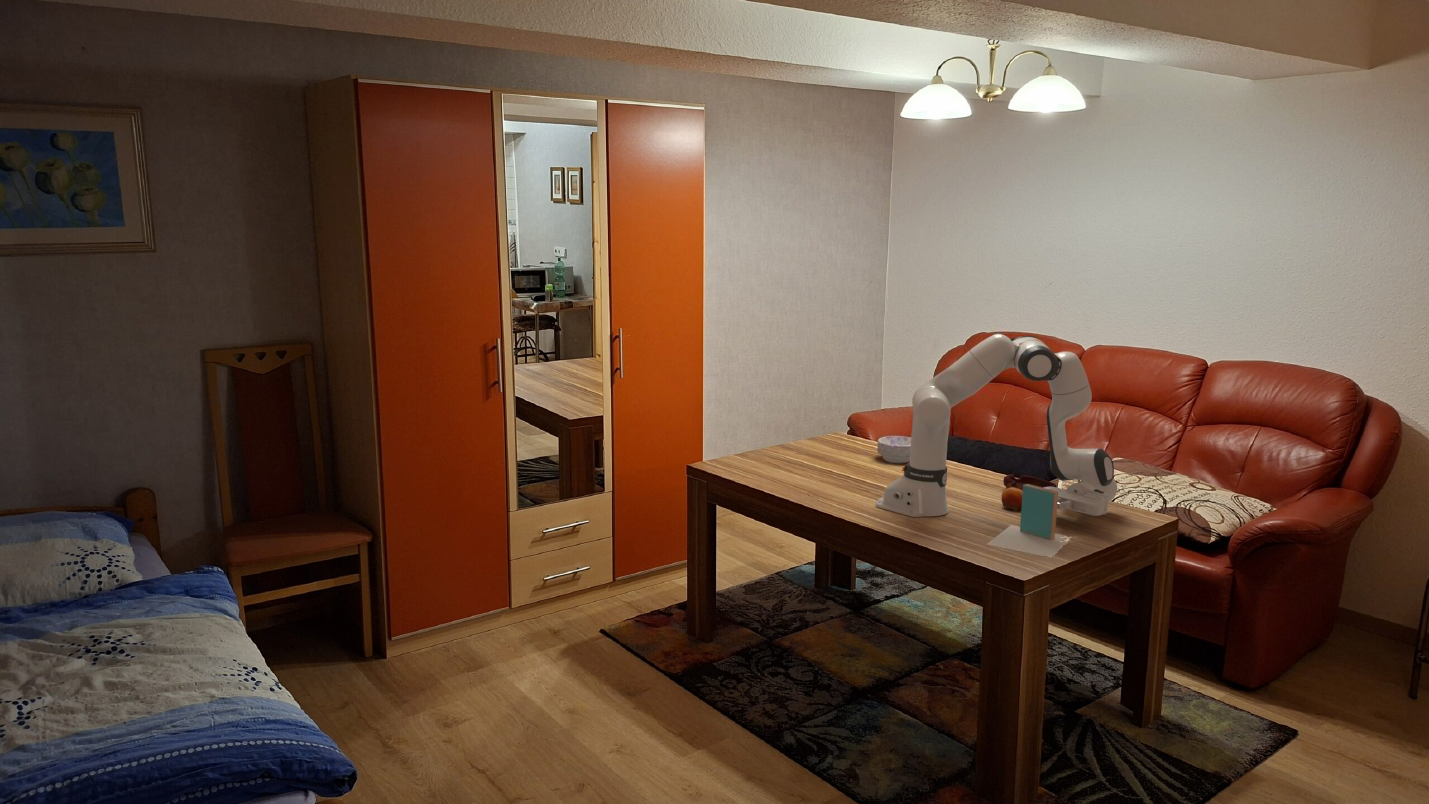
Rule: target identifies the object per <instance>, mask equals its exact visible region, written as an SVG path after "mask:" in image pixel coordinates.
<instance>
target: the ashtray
mask: <svg viewBox="0 0 1429 804" xmlns="http://www.w3.org/2000/svg"><path fill="white" fill-rule="evenodd" d="M1002 481H1003V485H1004V487H1005V489H1008V488H1011V487H1013V488H1017V489H1020V490H1022V491H1023V485H1025V484H1030V485H1034V486H1038V487H1042V488H1044V487H1056V488H1057V484H1056V483H1055V482H1052V481H1048V480H1045V479H1043V478H1040V477H1039V478H1038V477H1037V476H1036V477H1035V476H1032V475H1020V476H1019V477H1018V478H1016V477H1015V475H1014V474H1011V473H1010V474H1007V475H1005V476H1004V477H1003V480H1002Z"/></svg>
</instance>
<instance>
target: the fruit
mask: <svg viewBox="0 0 1429 804" xmlns="http://www.w3.org/2000/svg"><path fill="white" fill-rule="evenodd" d="M1022 495H1023V491H1022V490H1020V489H1017V488H1013V487H1011V488H1008V489H1006V488H1005V489H1003V490H1002V493H1001V503H1002V507H1003V508H1004V510H1007V509H1009V510H1010V509H1011V510H1013V511H1015V512H1017V511H1018V510H1020V511H1021V509H1022Z"/></svg>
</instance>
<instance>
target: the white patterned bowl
mask: <svg viewBox="0 0 1429 804" xmlns="http://www.w3.org/2000/svg"><path fill="white" fill-rule="evenodd" d="M877 439H878V440H877V454H878V455H881V456H882V459H883V460H884V461H885V462H887V463H891V464H908V463H909V462H910V449H911V436H910V437H909V436H904V435H903V436H902V435H887V436H883V437H880V438H877Z"/></svg>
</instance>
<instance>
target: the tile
mask: <svg viewBox="0 0 1429 804" xmlns="http://www.w3.org/2000/svg"><path fill="white" fill-rule="evenodd" d="M1057 503H1058V491H1054V490H1050V489H1046V488H1042V487H1038V486H1034V485H1030V484H1025V485H1023V495H1022V509H1021V510H1020V525H1019V527H1020V531H1021V532H1024V533H1028V534H1031V535H1034V536H1038V537H1041V538H1045V539H1048V540H1053V539H1055V534H1056V524H1057V514H1058V512H1057V511H1058V509H1057Z"/></svg>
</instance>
